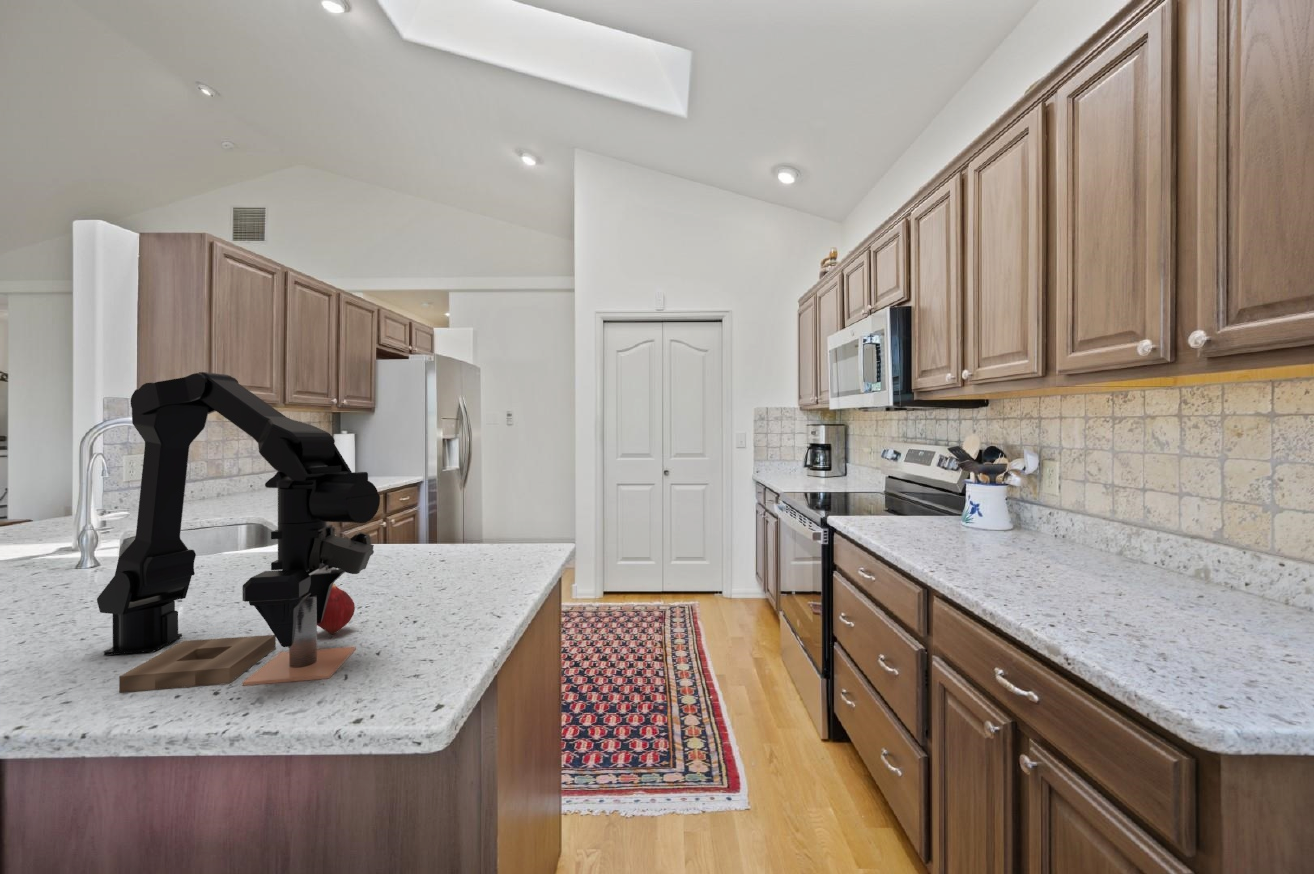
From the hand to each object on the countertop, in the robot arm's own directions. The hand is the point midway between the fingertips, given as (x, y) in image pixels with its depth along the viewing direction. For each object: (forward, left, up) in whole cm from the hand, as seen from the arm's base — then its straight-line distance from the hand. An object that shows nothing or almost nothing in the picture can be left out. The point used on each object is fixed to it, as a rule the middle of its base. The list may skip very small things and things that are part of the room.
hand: (303, 633), depth 75 cm
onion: (-1, +13, -5) cm, 14 cm away
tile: (0, 0, -4) cm, 4 cm away
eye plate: (-13, +2, -4) cm, 14 cm away
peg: (0, 0, -4) cm, 4 cm away
